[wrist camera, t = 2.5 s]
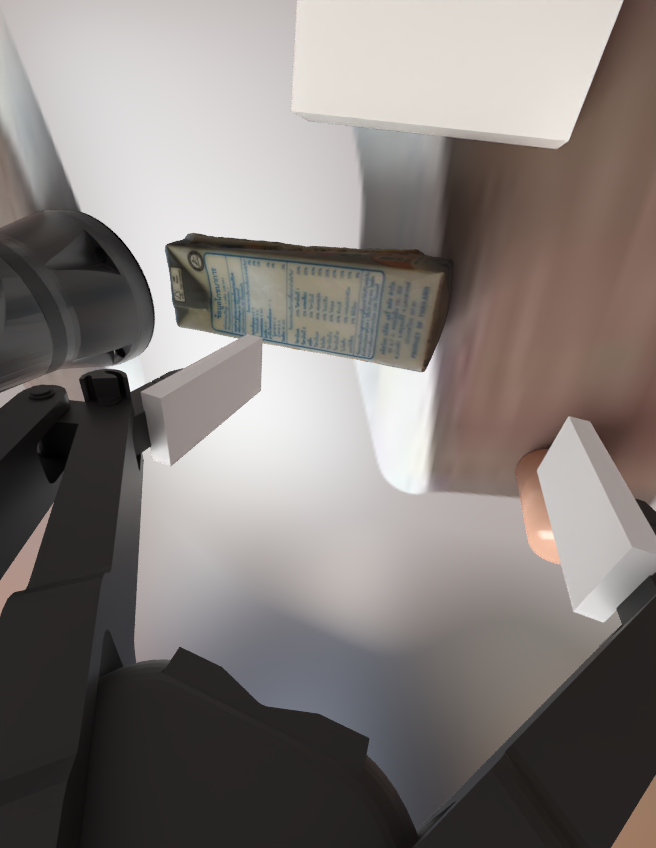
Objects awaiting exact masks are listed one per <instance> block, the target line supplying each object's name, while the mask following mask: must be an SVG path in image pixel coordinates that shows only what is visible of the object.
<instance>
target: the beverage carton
mask: <svg viewBox="0 0 656 848" xmlns="http://www.w3.org/2000/svg"><path fill="white" fill-rule="evenodd" d="M165 252H166V256H167V263H168V267H169V272H170V280H171V291H172V301H173V305H174V308H175V314H176V322H177V324H178V326H179V327H183V328H189V329H195V330H200V331H205V332H210V333H215V334H219V335H224V336H229V337H234V338H241V337H243V336H245V335H247V334H249V335H253V336H257V337H261V338H262V343H264V344H271V345H276V346H283V347H288V348H293V349H298V350H304V351H311V352H316V353H323V354H328V355H335V356H340V357H345V358H351V359H357V360H362V361H366V362H372V363H378V364H382V365H386V366H392V367H397V368H402V369H407V370H412V371H417V372H424V371H425V370H426V368H427V366H428V364H429V362H430V360H431V357H432V355H433V353H434V350H435V348H436V346H437V343H438V341H439V339H440V336H441V333H442V331H443V328H444V324H445V321H446V317H447V313H448V308H449V302H450V296H451V289H452V274H453V261H452V260H445V259H441V258H436V257H430V256H427V255H424V254H423V253H422V252H420V251H419V250H416V249H414V250H396V249H387V250H382V249H350V248H336V247H320V246H310V247H305V246H300V245H291V244H284V243H280V242H267V241H254V240H246V239H235V238H224V237H213V236H206V235H202V234H196V233H191V234H188V235H187V236H186V237H185V239H183V240H180V241H176V242H172V243H169V244H167V245H166V246H165Z"/></svg>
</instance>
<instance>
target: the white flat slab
mask: <svg viewBox="0 0 656 848" xmlns="http://www.w3.org/2000/svg"><path fill="white" fill-rule="evenodd" d="M622 3H623V0H297V11H296V31H295V50H294V66H293V67H294V68H293V85H292V103H291V111H292V112H294V113H295V114H297V115H299V116H301V117H302V118H304V119H306V120H308V121H313V122H321V123H331V124H339V125H348V126H357V127H365V128H374V129H383V130H392V131H401V132H410V133H418V134H427V135H436V136H445V137H454V138H463V139H471V140H480V141H489V142H498V143H507V144H516V145H524V146H533V147H542V148H551V149H558V148H559V147H561V146H562V145H563V144H565V143H566V142H568V141H569V138H570V136H571V133H572V131H573V128H574V126H575V123H576V120H577V118H578V115H579V113H580V110H581V108H582V105H583V103H584V100H585V97H586V95H587V92H588V90H589V87H590V85H591V82H592V80H593V77H594V74H595V72H596V69H597V67H598V64H599V62H600V59H601V56H602V54H603V51H604V49H605V46H606V44H607V41H608V39H609V36H610V33H611V31H612V28H613V26H614V23H615V21H616V18H617V16H618V13H619V10H620V8H621V5H622Z"/></svg>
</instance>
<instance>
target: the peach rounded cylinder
mask: <svg viewBox="0 0 656 848" xmlns="http://www.w3.org/2000/svg"><path fill="white" fill-rule="evenodd" d="M549 449H550V448H546V449H539V450H535V451H533V452H530V453H529V454H527V455H525V456H524V457H523V458H522V459H521V460H520V461H519V463H518V464H517V466H516V472H515V473H516V479H517V484H518V490H519V495H520V500H521V505H522V510H523V516H524V521H525V527H526V532H527V537H528V542H529V545H530V547H531V548H532V550H533V551H534V552H535V553H536V554H537V555H538V556H540V557H541V558H543V559H545V560H547V561H550V562H553V563H556V564H561V562H560V559H559V555H558V551H557V547H556V543H555V539H554V535H553V531H552V528H551V524H550V520H549V516H548V512H547V508H546V504H545V501H544V497H543V493H542V489H541V485H540V481H539V477H538V473H537V469H538V468H539V466H540V464H541V462H542V461H543V459H544V457H545V456H546V454H547V452H548V450H549Z"/></svg>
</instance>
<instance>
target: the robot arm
mask: <svg viewBox="0 0 656 848" xmlns="http://www.w3.org/2000/svg"><path fill="white" fill-rule="evenodd" d="M154 326H155V311H154V304H153V299H152V295H151V291H150V288H149V285H148V282H147V280H146V277H145V275H144V273H143V271H142V269H141V267H140V265H139V263H138V262H137V260H136V259H135V257H134V255H133V254H132V252H131V251H130V250H129V248H128V247H127V246H126V244H125V243H124V242H123V241H122V240H121V239H120V238H119V237H118V235H116V233H114V232H113V231H112V230H111V229H110V228H109V227H108V226H106V225H105V224H104V223H102V222H101V221H99V220H98V219H96V218H94V217H92V216H90V215H88V214H86V213H83V212H77V211H72V210H44V211H39V212H36V213H33V214H31V215H29V216H26V217H24V218H22V219H20V220H18V221H15V222H13V223H11V224H9V225H6V226H4V227H2V228H0V393H1V392H3V391H6V390H8V389H10V388H13V387H15V386H18V385H20V384H23V383H25V382H28V381H30V380H33V379H35V378H38V377H40V376H42V375H45V374H48V373H50V372H53V371H56V370H58V369H66V368H85V367H103V366H114V365H118V364H121V363H124V362H126V361H128V360H130V359H133V358H135V357H137V356H139V355H140V354H141V353H143V352H144V350H145V349H146V348H147V347H148V345H149V343H150V341H151V339H152V336H153V332H154ZM261 366H262V338H261V337H257V336H253V335H249V334H247V335H245V336H243V337H241V338H239V339H238V340H236V341H234V342H232V343H231V344H228V345H227V346H225V347H223V348H221V349H219V350H217V351H215V352H214V353H212V354H210V355H208V356H206V357H204V358H202V359H201V360H199V361H197V362H195V363H193V364H191V365H189V366H188V367H186V368H184V369H183V368H182V369H178V370H174V371H171V372H168V373H166V374H165V375H163V376H161V377H160V378H157V379H155V380H153V381H152V382H149V383H147V384H145V385H143V386H141V387H140V388H138V389H136V390H134V391H132V392H130V388H129V383H128V378H127V375H126V373H124V372H122V371H119V370H115V369H102V370H95V371H92V372H88V373H86V374H84V375H82V376H81V377H80V379H79V381H80V384H81V388H82V392H83V395H84V399H85V402H82V401H72V400H69V399H68V395H67V392H66V390H65V388H63V387H61V386H56V385H39V386H38V385H37V386H33V387H31V388H28V389H25V390H23V391H22V392H20V393H18V394H17V395H16V396H15V397H14V398H12V399H11V400H10V401H9V402H8V403H6V404H5V405H4V406H3V407H1V408H0V580H1V578H2V577H3V575H4V574H5V572H6V571H7V569H8V568H9V566H10V565H11V563H12V562H13V561H14V559H15V558H16V556H17V555H18V553H19V552H20V550H21V549H22V547H23V546H24V545H25V543H26V542H27V540H28V539H29V537H30V536H31V535H32V533H33V532H34V530H35V529H36V527H37V526H38V524H39V523H40V521H41V520H42V519H43V517H44V516H45V514H46V513H47V511H48V510H49V508H50V507H51V505H52V504H53V502H54V504H53V507H52V511H51V514H50V517H49V520H48V524H47V527H46V530H45V533H44V536H43V539H42V543H41V546H40V549H39V552H38V555H37V559H36V562H35V565H34V568H33V571H32V575H31V578H30V581H29V584H28V586H27V588H26V589H25V590H23V591H18V592H14V593H13V594H12V595H11V596H10V597H9V598H8V599H7V601H6V603H5V606H4V608H3V610H2V613H1V616H0V848H611V847H612V845H613V843H614V842H615V840H616V838H617V837H618V835H619V833H620V832H621V830H622V829H623V827H624V825H625V824H626V822H627V820H628V819H629V817H630V816H631V814H632V812H633V811H634V809H635V807H636V806H637V804H638V803H639V801H640V799H641V798H642V796H643V794H644V793H645V791H646V789H647V788H648V786H649V785H650V783H651V781H652V780H653V778H654V776H655V775H656V511H654V510H653V509H652V508H651V507H650V506H649V505H648V504H647V503H646V502H645V501H642V500H638V499H635V498H634V497H633V495H632V493H631V492H630V490H629V488H628V486H627V485H626V483H625V481H624V479H623V478H622V476H621V474H620V472H619V471H618V469H617V467H616V466H615V464H614V462H613V460H612V459H611V457H610V455H609V453H608V452H607V450H606V448H605V446H604V445H603V443H602V441H601V440H600V438H599V436H598V434H597V433H596V431H595V429H594V427H593V426H592V424H591V422H590V421H586V420H582V419H578V418H574V417H570V416H568V418H567V420H566V421H565V423H564V425H563V426H562V428H561V430H560V432H559V433H558V435H557V437H556V438H555V440H554V442H553V444H552V445H551V447H550V449H549V450H548V452H547V454H546V456H545V457H544V459H543V461H542V462H541V464H540V466H539V468H538V469H537V473H538V477H539V481H540V485H541V489H542V493H543V497H544V501H545V504H546V508H547V512H548V516H549V520H550V524H551V528H552V531H553V535H554V539H555V543H556V547H557V551H558V555H559V559H560V562H561V566H562V570H563V574H564V578H565V582H566V586H567V590H568V593H569V597H570V601H571V605H572V609H573V612H576V613H579V614H581V615H584V616H587V617H590V618H593V619H595V620H598V621H601V622H603V623H604V622H605V621H606V620H607V619H608V618H609V617H610V616H611V615H612V614H613V613H614V612H615V611H616V610H617V612H618V614H619V617H620V620H621V622H622V625H621V626H620V627H619V628H618V629H617V630H616V631H615V632H614V633H612V634H611V635H610V636H609V637H608V638H607V639H606V640H605V641H604V642H603V643H602V644H601V645H599V646H600V647H599V648H598V649H597V650H596V651H595V652H594V653H593V654H592V655H591V656H590V657H589V658H588V659H587V660H586V661H585V662H584V663H583V664H582V665H581V666H580V667H579V668H578V669H577V670H576V671H575V672H574V673H573V674H572V675H571V676H570V677H569V678H568V679H567V680H566V681H565V682H564V683H563V684H562V685H561V686H560V687H559V688H558V689H557V690H556V692H554V693H553V694H552V695H551V696H550V697H549V698H548V699H547V700H546V701H545V702H544V704H542V705H541V707H540V708H538V709H537V710H536V712H535V713H534V714H533V715H532V716H531V717H530V718H529V719H528V720H527V721H526V722H525V723H524V724H523V725H522V726H521V727H520V728H519V729H518V730H517V731H516V732H515V733H514V734H513V735H512V736H511V737H510V738H509V739H508V740H507V741H506V742H505V743H504V744H503V745H502V746H501V747H500V748H499V749H498V750H497V751H496V752H495V753H494V754H493V755H492V756H491V757H490V758H489V759H488V760H487V761H486V762H485V763H484V764H483V765H482V766H481V767H480V768H479V769H478V770H477V771H476V772H475V773H474V774H473V775H472V776H471V777H470V778H469V779H468V780H467V781H466V782H465V783H464V784H463V785H462V786H461V787H460V788H459V789H458V790H457V791H456V792H455V793H454V794H453V795H452V796H451V797H450V798H449V799H448V800H447V801H446V802H445V803H444V804H443V805H442V806H441V807H440V808H439V809H438V810H437V811H436V812H435V813H434V814H433V815H432V816H430V817H429V818H428V819H427V820H426V821H425V822H424V823H423V824H422V825H421V826H420V827H419V828H418V829H417V830H416V829H415V827H414V824H413V822H412V820H411V818H410V815H409V813H408V811H407V809H406V807H405V805H404V803H403V802H402V799H401V798H400V796H399V794H398V792H397V791H396V789H395V788H394V786H393V785H392V783H391V782H390V780H389V779H388V777H387V776H386V775H385V774H384V772H383V771H382V770H381V769H380V768H379V767H378V765H377V764H376V763H375V762H374V761H373V760H372V759H371V758H369V757H368V756H367V755H366V754H367V748H368V743H369V738H367V737H366V736H364V735H361V734H359V733H357V732H355V731H353V730H351V729H349V728H347V727H345V726H343V725H341V724H339V723H337V722H334V721H332V720H330V719H328V718H326V717H324V716H322V715H320V714H316V713H309V712H302V711H295V710H288V709H280V708H273V707H267V706H264V705H262V704H260V703H259V702H257V701H256V700H255V699H254V698H253V697H252V696H251V695H250V694H249V693H248V692H247V691H246V690H245V689H244V688H243V687H242V686H241V685H240V684H239V683H238V682H237V681H236V680H235V679H234V678H233V677H232V676H230V674H229V673H228V672H227V671H225V670H224V669H223V668H222V667H221V666H218V665H216V664H214V663H212V662H210V661H208V660H206V659H204V658H202V657H200V656H198V655H196V654H194V653H192V652H190V651H187V650H185V649H183V648H181V647H179V649H178V650H177V652H176V653H175V655H174V656H173V658H172V659H171V660H149V661H142V662H138V663H136V658H135V649H134V628H135V609H136V591H137V573H138V553H139V535H140V517H141V498H142V479H143V461H144V460H143V455H142V452H143V451H145V450H146V449H147V448H149V447H150V448H151V454H152V459H153V460H154V461H157V462H160V463H163V464H166V465H168V466H172V465H173V464H174V463H175V462H176V461H178V460H179V459H180V458H181V457H183V456H184V455H185V454H186V453H187V452H188V451H190V450H191V449H192V448H193V447H194V446H196V445H197V444H198V443H199V442H200V441H201V440H203V439H204V438H205V437H206V436H207V435H209V434H210V433H211V432H212V431H213V430H215V429H216V428H217V427H218V426H219V425H220V424H222V423H223V422H224V421H225V420H226V419H228V418H229V417H230V416H231V415H232V414H234V413H235V412H236V411H237V410H238V409H239V408H241V407H242V406H243V405H244V404H245V403H247V402H248V401H249V400H250V399H251V398H253V396H255V395H256V394H257V393H258V392H260V391H261V368H262V367H261Z"/></svg>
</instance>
